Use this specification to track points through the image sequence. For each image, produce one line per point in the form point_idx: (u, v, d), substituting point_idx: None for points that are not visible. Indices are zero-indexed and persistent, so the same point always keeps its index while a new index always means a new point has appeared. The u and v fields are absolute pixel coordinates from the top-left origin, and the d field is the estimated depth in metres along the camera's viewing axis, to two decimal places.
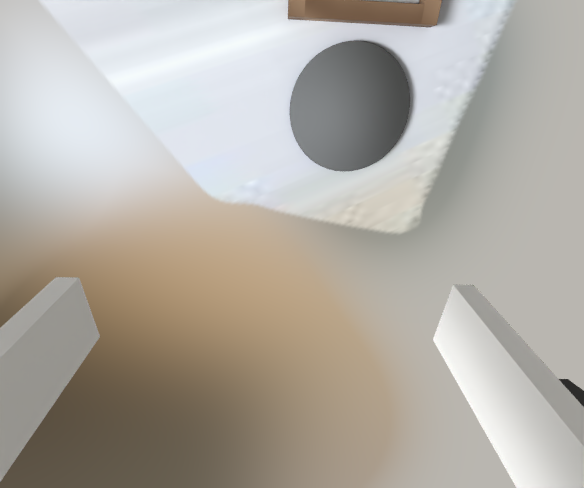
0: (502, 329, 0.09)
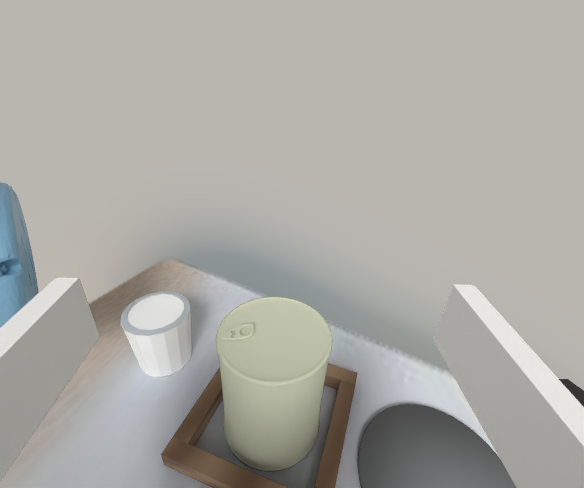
0: (502, 329, 0.09)
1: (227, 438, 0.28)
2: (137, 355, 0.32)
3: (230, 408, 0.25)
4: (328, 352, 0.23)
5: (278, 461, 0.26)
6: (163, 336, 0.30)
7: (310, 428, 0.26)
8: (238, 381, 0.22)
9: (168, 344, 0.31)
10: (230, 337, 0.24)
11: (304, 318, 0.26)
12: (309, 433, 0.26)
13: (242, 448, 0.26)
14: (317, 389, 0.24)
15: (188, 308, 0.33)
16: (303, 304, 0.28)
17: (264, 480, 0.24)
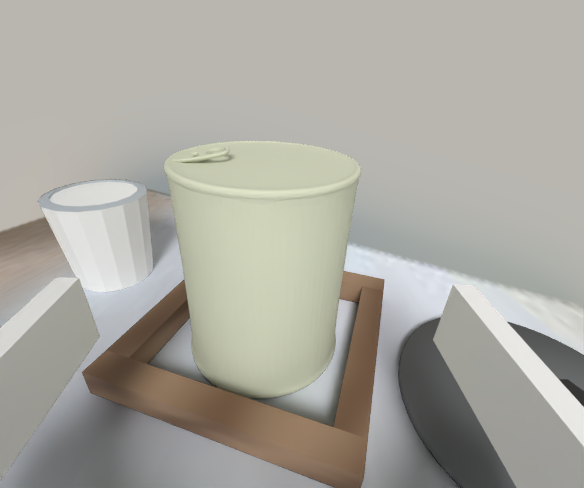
0: (502, 329, 0.09)
1: (195, 356, 0.18)
2: (67, 255, 0.22)
3: (193, 285, 0.15)
4: (357, 173, 0.14)
5: (275, 380, 0.16)
6: (101, 217, 0.20)
7: (325, 326, 0.16)
8: (199, 203, 0.12)
9: (111, 234, 0.21)
10: (189, 157, 0.14)
11: (313, 154, 0.17)
12: (323, 336, 0.17)
13: (217, 360, 0.16)
14: (338, 242, 0.14)
15: (143, 191, 0.23)
16: (309, 146, 0.18)
17: (252, 403, 0.14)
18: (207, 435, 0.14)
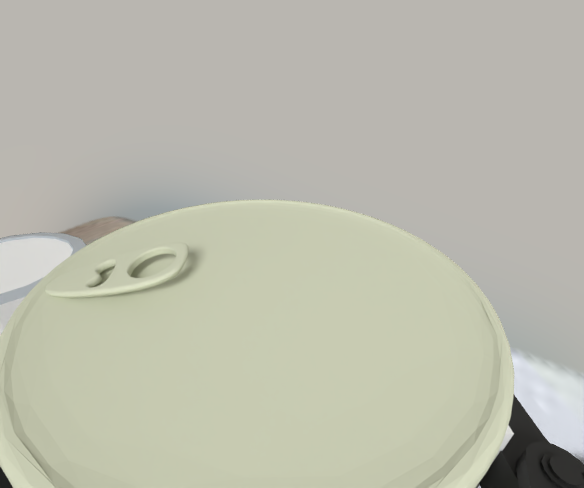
0: None
1: None
2: None
3: None
4: (504, 339, 0.05)
5: None
6: None
7: None
8: None
9: None
10: (82, 287, 0.06)
11: (362, 240, 0.08)
12: None
13: None
14: None
15: None
16: (348, 212, 0.10)
17: None
18: None
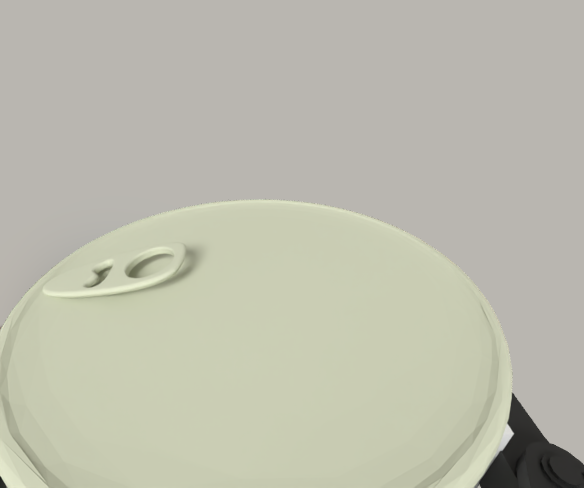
0: None
1: None
2: None
3: None
4: (502, 339, 0.05)
5: None
6: None
7: None
8: None
9: None
10: (80, 287, 0.06)
11: (361, 240, 0.08)
12: None
13: None
14: None
15: None
16: (347, 212, 0.10)
17: None
18: None
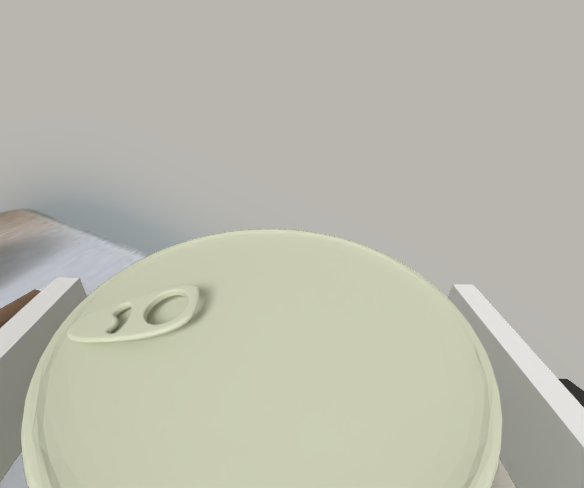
0: (501, 329, 0.09)
1: None
2: None
3: None
4: (494, 385, 0.06)
5: None
6: None
7: None
8: None
9: None
10: (102, 333, 0.06)
11: (363, 275, 0.09)
12: None
13: None
14: None
15: None
16: (349, 243, 0.10)
17: None
18: None
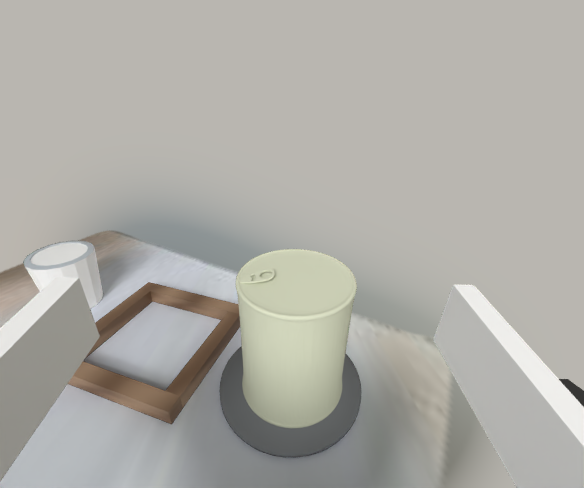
0: (502, 329, 0.09)
1: (247, 398, 0.27)
2: None
3: (251, 358, 0.23)
4: (354, 291, 0.22)
5: (303, 416, 0.24)
6: (60, 271, 0.34)
7: (335, 380, 0.25)
8: (262, 319, 0.20)
9: None
10: (250, 280, 0.23)
11: (325, 266, 0.25)
12: (334, 386, 0.25)
13: (264, 403, 0.25)
14: (343, 332, 0.23)
15: (90, 251, 0.37)
16: (322, 254, 0.27)
17: (127, 379, 0.27)
18: (104, 396, 0.27)
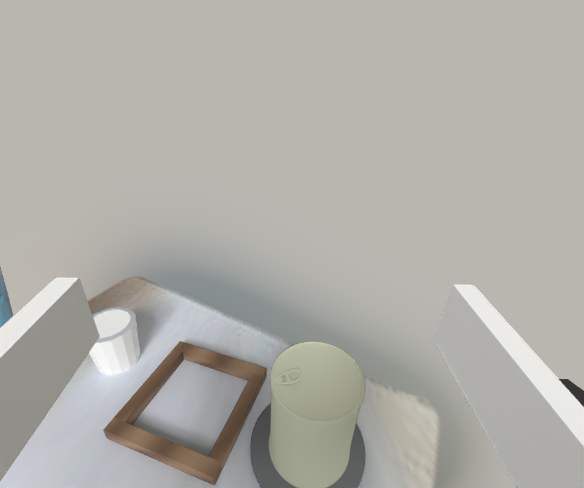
0: (502, 329, 0.09)
1: (274, 462, 0.33)
2: (92, 358, 0.41)
3: (281, 439, 0.30)
4: (363, 393, 0.29)
5: (320, 482, 0.31)
6: (111, 343, 0.40)
7: (346, 453, 0.31)
8: (293, 420, 0.27)
9: (116, 349, 0.41)
10: (282, 382, 0.29)
11: (339, 361, 0.32)
12: (345, 457, 0.32)
13: (290, 471, 0.31)
14: (354, 423, 0.29)
15: (133, 320, 0.43)
16: (336, 348, 0.33)
17: (176, 445, 0.34)
18: (157, 459, 0.34)
